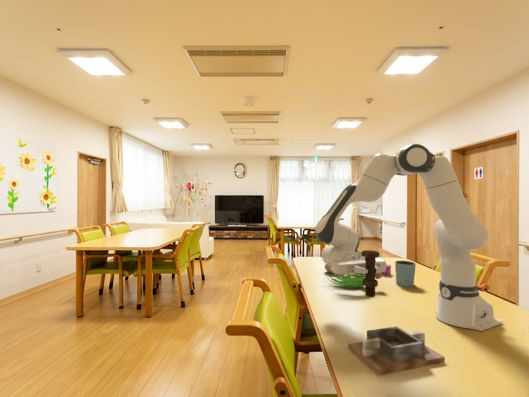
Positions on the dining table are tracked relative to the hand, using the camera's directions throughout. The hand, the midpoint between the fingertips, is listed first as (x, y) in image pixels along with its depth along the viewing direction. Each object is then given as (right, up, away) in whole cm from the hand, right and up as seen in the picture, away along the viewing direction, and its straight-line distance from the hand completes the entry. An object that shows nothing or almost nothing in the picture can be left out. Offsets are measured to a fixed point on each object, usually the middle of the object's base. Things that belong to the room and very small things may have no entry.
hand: (372, 271), depth 97 cm
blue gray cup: (+40, -22, +60) cm, 76 cm away
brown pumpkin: (+8, -22, +85) cm, 88 cm away
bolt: (0, -9, +1) cm, 9 cm away
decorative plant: (+10, -22, +56) cm, 61 cm away
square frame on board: (+2, -22, -12) cm, 25 cm away
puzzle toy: (+38, -23, +81) cm, 93 cm away
